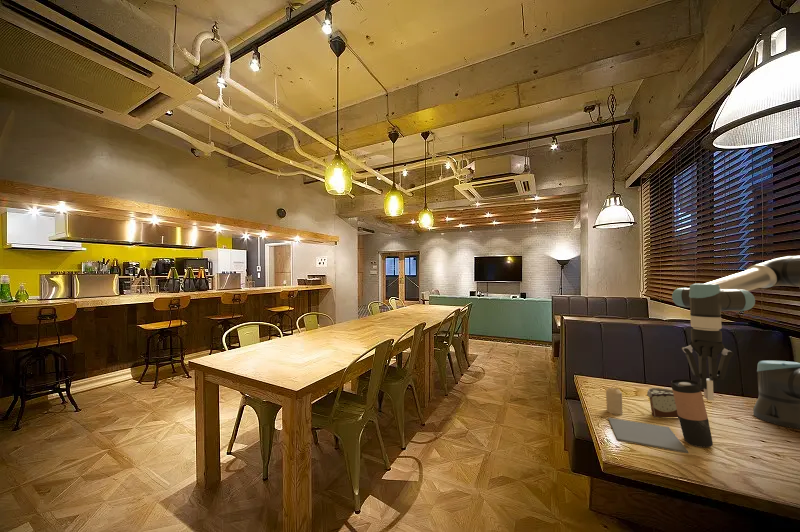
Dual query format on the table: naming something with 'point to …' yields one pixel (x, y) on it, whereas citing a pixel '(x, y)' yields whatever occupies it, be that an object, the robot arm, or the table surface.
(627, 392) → the table surface
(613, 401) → the candle
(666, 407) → the food container
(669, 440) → the mat
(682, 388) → the travel mug
